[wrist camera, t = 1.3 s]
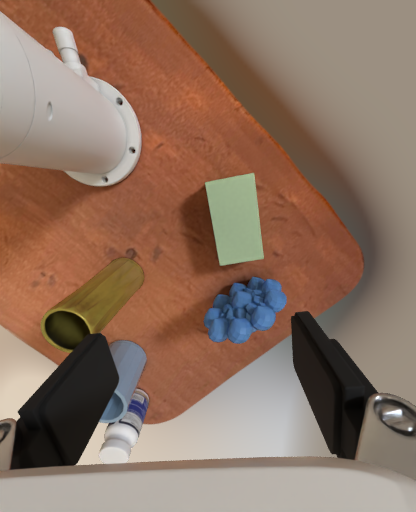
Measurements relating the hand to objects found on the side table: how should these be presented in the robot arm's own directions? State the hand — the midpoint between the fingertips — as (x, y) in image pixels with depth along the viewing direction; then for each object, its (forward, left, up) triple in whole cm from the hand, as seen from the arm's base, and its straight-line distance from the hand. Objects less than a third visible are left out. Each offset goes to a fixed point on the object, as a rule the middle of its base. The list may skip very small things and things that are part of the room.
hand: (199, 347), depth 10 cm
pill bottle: (+29, -21, -23) cm, 43 cm away
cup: (+19, -20, -23) cm, 36 cm away
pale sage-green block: (-3, +4, -23) cm, 23 cm away
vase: (+3, -15, -23) cm, 27 cm away
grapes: (+9, +3, -23) cm, 25 cm away
